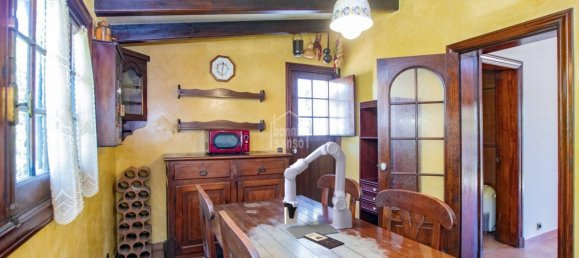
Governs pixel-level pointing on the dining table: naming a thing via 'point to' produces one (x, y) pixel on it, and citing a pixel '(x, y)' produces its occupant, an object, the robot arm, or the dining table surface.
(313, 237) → the chocolate bar
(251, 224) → the dining table surface
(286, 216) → the tile
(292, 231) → the mat
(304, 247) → the dining table surface
